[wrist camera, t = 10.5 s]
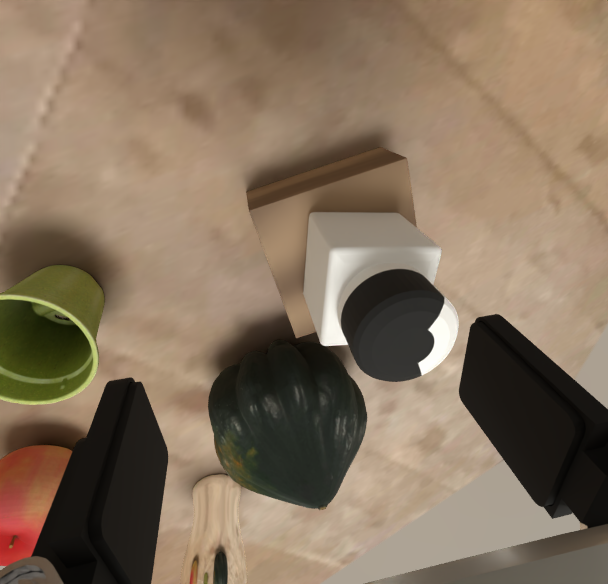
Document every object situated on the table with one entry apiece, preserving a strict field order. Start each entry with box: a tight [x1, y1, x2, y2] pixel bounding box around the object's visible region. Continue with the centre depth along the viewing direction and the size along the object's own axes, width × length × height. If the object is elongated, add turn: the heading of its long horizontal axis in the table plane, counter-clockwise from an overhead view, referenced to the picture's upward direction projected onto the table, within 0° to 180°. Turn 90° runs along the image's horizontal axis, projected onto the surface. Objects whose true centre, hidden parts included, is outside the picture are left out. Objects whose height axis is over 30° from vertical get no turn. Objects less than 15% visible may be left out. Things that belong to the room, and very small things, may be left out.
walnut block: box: [246, 147, 417, 338], centre depth 33 cm, size 12×12×6 cm
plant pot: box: [0, 265, 105, 405], centre depth 31 cm, size 9×9×9 cm
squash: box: [208, 340, 367, 510], centre depth 38 cm, size 14×15×15 cm
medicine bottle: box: [303, 212, 459, 382], centre depth 25 cm, size 7×7×12 cm
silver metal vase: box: [180, 474, 248, 584], centre depth 43 cm, size 7×7×15 cm
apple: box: [0, 445, 72, 566], centre depth 38 cm, size 10×10×10 cm
